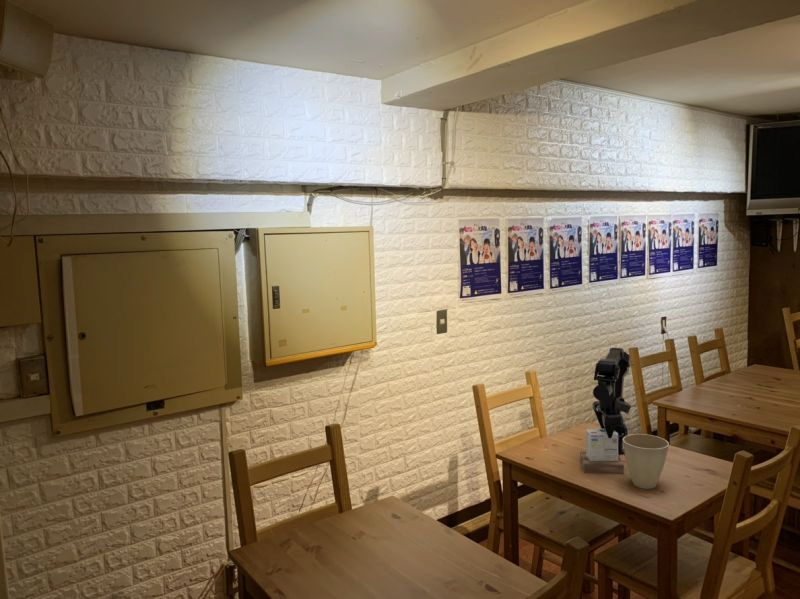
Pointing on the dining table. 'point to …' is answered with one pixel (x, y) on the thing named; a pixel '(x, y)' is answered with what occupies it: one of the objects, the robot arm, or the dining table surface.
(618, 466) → the walnut block
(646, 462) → the plant pot
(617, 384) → the robot arm
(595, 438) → the light bulb box
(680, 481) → the dining table surface
